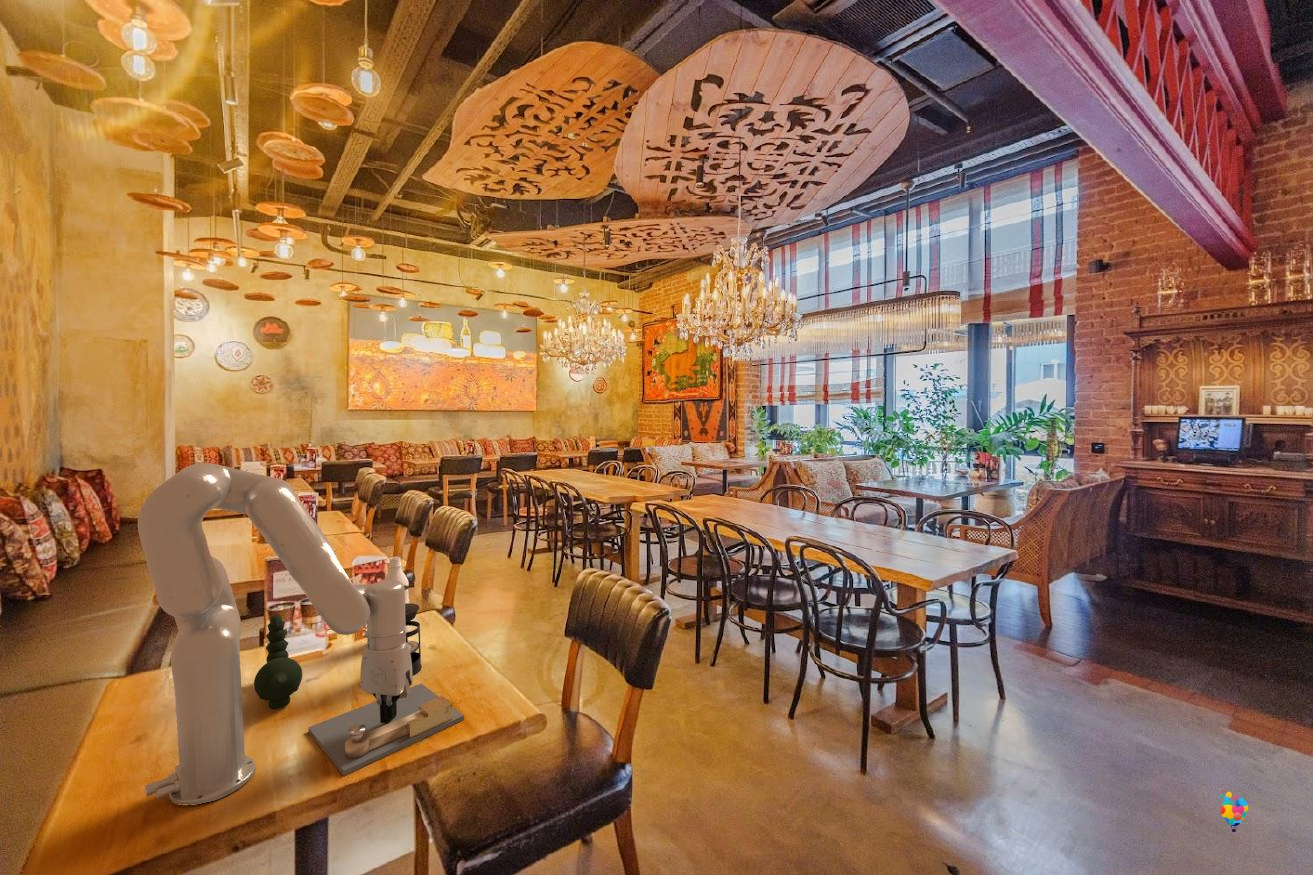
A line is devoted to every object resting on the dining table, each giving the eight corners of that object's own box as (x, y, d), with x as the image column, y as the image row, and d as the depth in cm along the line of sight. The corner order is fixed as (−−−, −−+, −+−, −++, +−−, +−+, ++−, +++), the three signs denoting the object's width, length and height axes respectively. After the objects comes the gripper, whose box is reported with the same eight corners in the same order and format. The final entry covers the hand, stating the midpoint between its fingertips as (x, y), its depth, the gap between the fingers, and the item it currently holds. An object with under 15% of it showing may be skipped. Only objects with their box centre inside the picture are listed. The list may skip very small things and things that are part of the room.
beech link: (349, 761, 107) (349, 750, 107) (342, 751, 110) (341, 740, 110) (439, 722, 121) (439, 712, 120) (430, 714, 124) (430, 704, 123)
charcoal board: (343, 775, 105) (343, 770, 105) (308, 731, 119) (308, 727, 119) (464, 719, 124) (463, 715, 123) (421, 687, 137) (421, 683, 137)
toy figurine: (256, 687, 140) (254, 726, 120) (253, 614, 140) (250, 640, 120) (300, 677, 145) (305, 712, 125) (297, 606, 146) (301, 629, 125)
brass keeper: (410, 738, 115) (409, 721, 115) (400, 730, 118) (400, 713, 118) (452, 719, 122) (452, 702, 122) (442, 711, 125) (442, 695, 125)
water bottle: (399, 645, 161) (397, 562, 159) (378, 642, 162) (376, 560, 161) (415, 634, 168) (413, 555, 166) (394, 632, 169) (392, 553, 168)
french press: (421, 658, 152) (419, 578, 151) (427, 673, 145) (425, 588, 143) (374, 669, 146) (371, 585, 145) (377, 685, 138) (375, 596, 137)
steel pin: (351, 746, 108) (351, 735, 108) (345, 739, 110) (345, 729, 110) (368, 739, 110) (368, 728, 110) (362, 732, 113) (362, 722, 112)
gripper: (344, 642, 117) (346, 724, 118) (405, 649, 114) (407, 734, 115) (369, 628, 124) (371, 706, 125) (427, 635, 121) (429, 714, 122)
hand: (388, 719), depth 120 cm, fingers closed
